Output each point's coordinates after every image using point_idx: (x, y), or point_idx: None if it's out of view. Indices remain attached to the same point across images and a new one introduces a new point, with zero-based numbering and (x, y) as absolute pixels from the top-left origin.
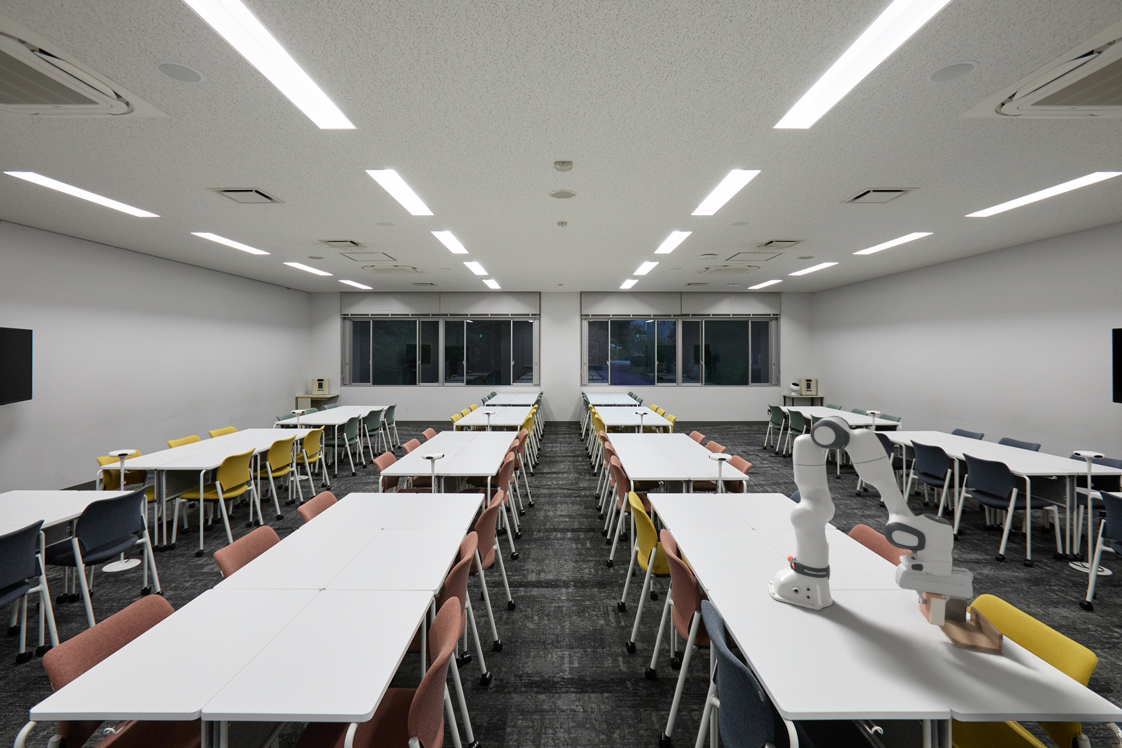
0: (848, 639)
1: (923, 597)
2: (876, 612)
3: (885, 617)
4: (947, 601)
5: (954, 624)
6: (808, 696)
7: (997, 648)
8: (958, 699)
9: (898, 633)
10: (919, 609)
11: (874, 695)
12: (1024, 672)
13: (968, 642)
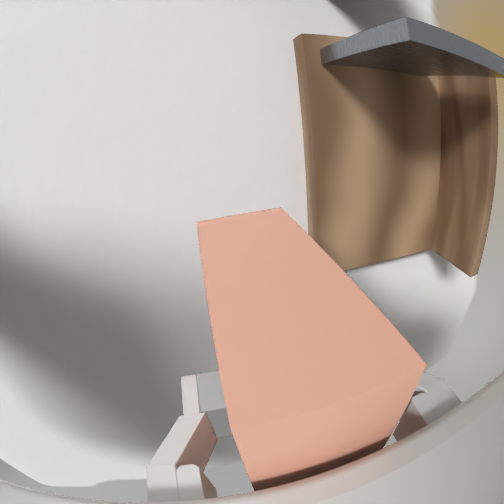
0: (6, 373)
1: (218, 418)
2: (28, 120)
3: (57, 148)
4: (429, 54)
5: (375, 106)
6: (47, 477)
7: (431, 246)
8: (225, 453)
9: (103, 277)
10: (197, 223)
11: (103, 474)
12: (423, 305)
13: (364, 252)
